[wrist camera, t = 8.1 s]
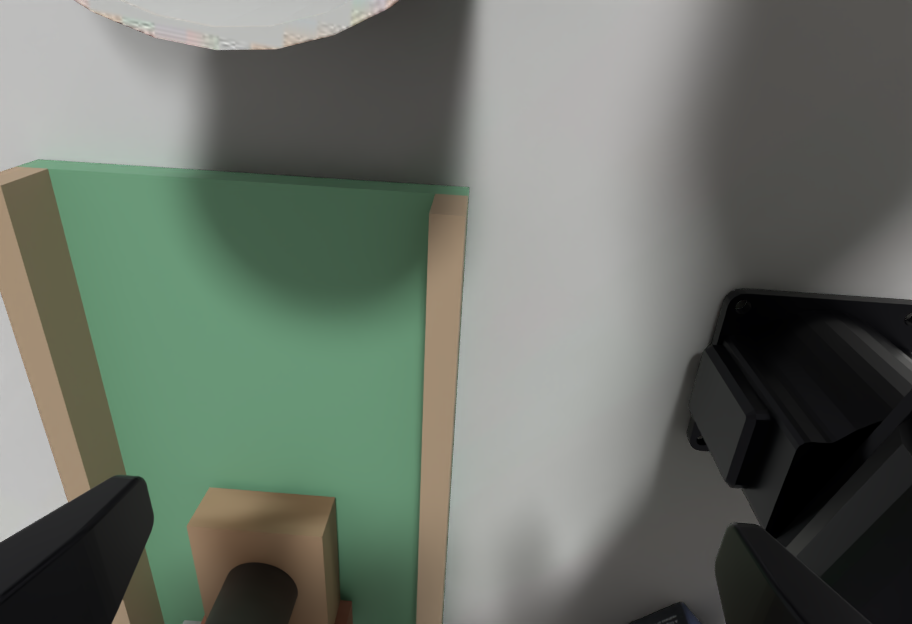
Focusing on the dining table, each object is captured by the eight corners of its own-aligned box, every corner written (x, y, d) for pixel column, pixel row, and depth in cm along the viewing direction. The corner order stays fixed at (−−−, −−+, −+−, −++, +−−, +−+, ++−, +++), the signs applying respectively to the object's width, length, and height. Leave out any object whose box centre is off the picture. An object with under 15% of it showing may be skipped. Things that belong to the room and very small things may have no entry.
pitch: (469, 187, 19) (462, 241, 15) (437, 697, 31) (428, 812, 27) (37, 159, 19) (-98, 203, 15) (173, 674, 32) (120, 784, 27)
